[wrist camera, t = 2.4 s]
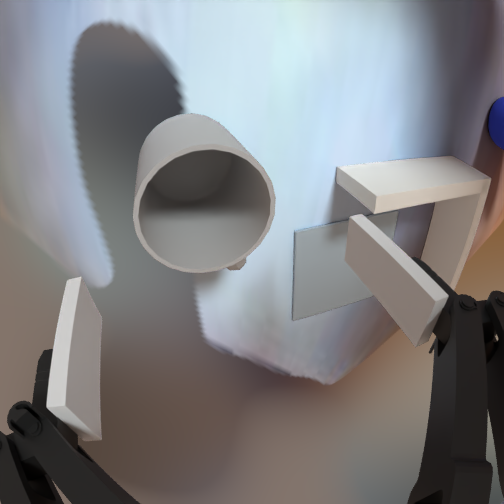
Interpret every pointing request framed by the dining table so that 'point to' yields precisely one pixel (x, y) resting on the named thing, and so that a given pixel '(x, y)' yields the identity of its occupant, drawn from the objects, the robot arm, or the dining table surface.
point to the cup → (200, 196)
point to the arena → (426, 191)
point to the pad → (329, 267)
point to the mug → (497, 123)
